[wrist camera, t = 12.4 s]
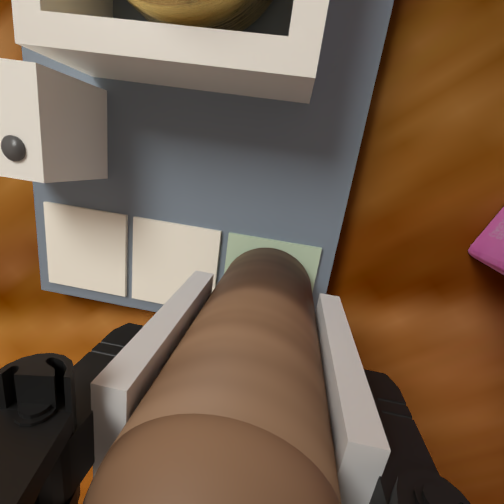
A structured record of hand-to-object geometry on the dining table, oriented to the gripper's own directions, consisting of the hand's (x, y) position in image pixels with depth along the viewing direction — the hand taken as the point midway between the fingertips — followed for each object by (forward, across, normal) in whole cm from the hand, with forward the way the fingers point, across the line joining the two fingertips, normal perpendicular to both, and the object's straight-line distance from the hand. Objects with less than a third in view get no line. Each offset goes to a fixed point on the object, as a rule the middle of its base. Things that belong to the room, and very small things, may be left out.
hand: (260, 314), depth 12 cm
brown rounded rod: (+3, 0, 0) cm, 3 cm away
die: (+3, -11, +6) cm, 13 cm away
